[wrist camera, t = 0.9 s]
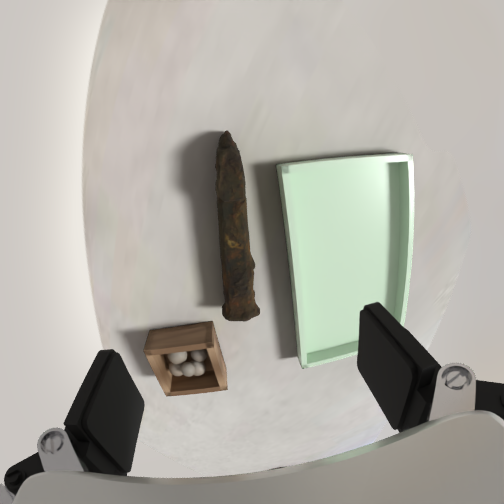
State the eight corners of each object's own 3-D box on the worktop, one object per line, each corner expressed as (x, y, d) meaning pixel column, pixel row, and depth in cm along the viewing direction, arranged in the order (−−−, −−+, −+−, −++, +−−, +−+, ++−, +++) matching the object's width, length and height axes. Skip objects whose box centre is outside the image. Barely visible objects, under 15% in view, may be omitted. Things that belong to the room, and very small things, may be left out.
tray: (275, 164, 28) (281, 166, 25) (400, 152, 28) (412, 154, 26) (297, 356, 37) (302, 369, 34) (393, 330, 37) (401, 340, 35)
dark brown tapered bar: (256, 303, 33) (262, 326, 29) (222, 305, 33) (223, 328, 29) (254, 131, 27) (261, 129, 22) (213, 132, 26) (212, 130, 22)
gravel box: (149, 330, 33) (142, 352, 29) (212, 321, 33) (212, 343, 29) (169, 375, 36) (166, 398, 32) (226, 368, 36) (227, 391, 32)
